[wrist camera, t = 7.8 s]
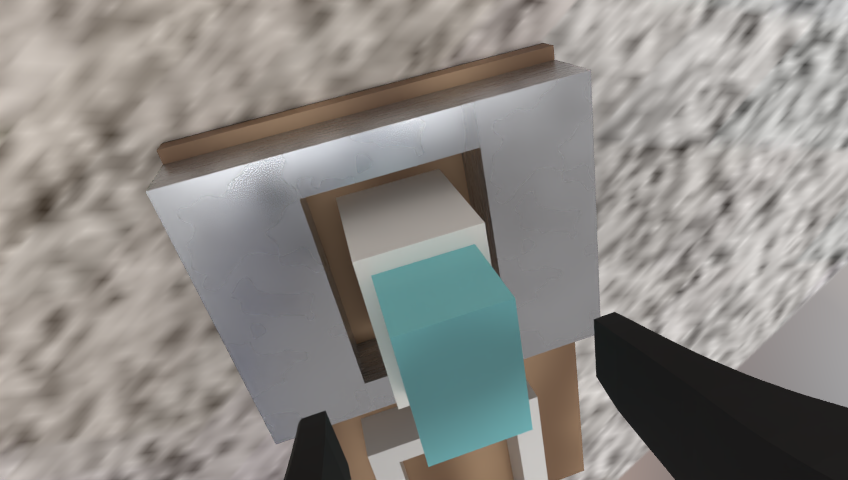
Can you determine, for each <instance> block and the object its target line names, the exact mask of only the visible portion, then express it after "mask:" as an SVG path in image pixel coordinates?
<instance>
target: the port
mask: <svg viewBox="0 0 848 480" xmlns="http://www.w3.org/2000/svg"><path fill="white" fill-rule="evenodd" d="M459 153H462V159H463V164H464V170H465V176H466V182H467V188H468V193H469V199H470V205H471V207H472V208H473V209H474V211H475V212H476V213H477V214H478V215H479V216H480V218H481V219H482V220H483V221H484V222H485V227H486V234H487V240H488V246H489V253H490V259H491V266H492V268H493V269H494V270H495V272H496V273H497V274H498V276H499V277H500V278H501V280H502V281H503V282H504V284H505V285H506V286H507V288H508V289H509V290H510V292H511V293H512V294H513V296H514V297H515V300H516V308H517V315H518V323H519V330H520V338H521V345H522V353H523V359H526V358H529V357H532V356H535V355H538V354H541V353H544V352H547V351H549V350H552V349H555V348H558V347H561V346H564V345H567V344H570V343H573V342H576V341H579V340H582V339H584V338H587V337H590V336H593V335H594V319H596V318H599V317H600V296H599V270H598V244H597V218H596V192H595V166H594V140H593V114H592V88H591V70H589V69H586V68H582V67H578V66H575V65H571V64H568V63H564V62H560V61H557V60H552V61H548V62H544V63H541V64H537V65H533V66H530V67H526V68H522V69H518V70H515V71H511V72H507V73H503V74H500V75H496V76H492V77H489V78H485V79H481V80H477V81H474V82H470V83H466V84H462V85H459V86H455V87H451V88H447V89H444V90H440V91H436V92H433V93H429V94H425V95H421V96H418V97H414V98H410V99H406V100H403V101H399V102H395V103H392V104H388V105H384V106H380V107H377V108H373V109H369V110H365V111H362V112H358V113H354V114H350V115H347V116H343V117H339V118H336V119H332V120H328V121H324V122H321V123H317V124H313V125H309V126H306V127H302V128H298V129H295V130H291V131H287V132H283V133H280V134H276V135H272V136H268V137H265V138H261V139H257V140H254V141H250V142H246V143H242V144H239V145H235V146H231V147H227V148H224V149H220V150H216V151H212V152H209V153H205V154H201V155H198V156H194V157H190V158H186V159H183V160H179V161H175V162H171V163H168V164H164V165H163V166H162V168H161V169H160V171H159V172H158V174H157V175H156V177H155V178H154V180H153V181H152V183H151V184H150V186H149V187H148V189H147V190H146V193H147V195H148V197H149V199H150V201H151V203H152V204H153V206H154V208H155V210H156V212H157V214H158V216H159V218H160V220H161V222H162V224H163V226H164V228H165V230H166V232H167V234H168V236H169V237H170V239H171V241H172V243H173V245H174V247H175V249H176V251H177V253H178V255H179V257H180V259H181V261H182V263H183V265H184V267H185V269H186V270H187V272H188V274H189V276H190V278H191V280H192V282H193V284H194V286H195V288H196V290H197V292H198V294H199V296H200V298H201V300H202V302H203V304H204V305H205V307H206V309H207V311H208V313H209V315H210V317H211V319H212V321H213V323H214V325H215V327H216V329H217V331H218V333H219V335H220V337H221V338H222V340H223V342H224V344H225V346H226V348H227V350H228V352H229V354H230V356H231V358H232V360H233V362H234V364H235V366H236V368H237V370H238V371H239V373H240V375H241V377H242V379H243V381H244V383H245V385H246V387H247V389H248V391H249V393H250V395H251V397H252V399H253V401H254V403H255V404H256V406H257V408H258V410H259V412H260V414H261V416H262V418H263V420H264V422H265V424H266V426H267V428H268V430H269V432H270V434H271V436H272V437H273V439H274V441H275V443H276V444H278V443H281V442H284V441H287V440H290V439H293V438H295V436H296V432H297V427H298V423H299V421H300V420H301V419H302V418H305V417H308V416H311V415H314V414H316V413H319V412H322V411H325V410H326V413H327V415H328V417H329V420H330V422H331V425H334V424H337V423H339V422H342V421H345V420H348V419H351V418H354V417H357V416H360V415H363V414H366V413H369V412H372V411H374V410H377V409H380V408H383V407H386V406H389V405H392V404H395V403H396V400H395V397H394V394H393V391H392V387H391V384H390V381H389V378H388V375H387V371H386V368H385V365H384V362H383V359H382V356H381V352H380V349H379V346H378V343H377V340H376V338H374V339H371V340H367V341H364V342H361V343H358V344H356V341H355V338H354V335H353V332H352V330H351V327H350V324H349V321H348V318H347V315H346V312H345V310H344V307H343V304H342V301H341V298H340V295H339V292H338V289H337V287H336V284H335V281H334V278H333V275H332V272H331V269H330V266H329V264H328V261H327V258H326V255H325V252H324V249H323V246H322V243H321V241H320V238H319V235H318V232H317V229H316V226H315V223H314V220H313V218H312V215H311V212H310V209H309V206H308V203H307V200H306V197H309V196H312V195H316V194H319V193H323V192H326V191H330V190H333V189H337V188H340V187H344V186H347V185H351V184H354V183H358V182H361V181H365V180H368V179H372V178H375V177H379V176H382V175H386V174H389V173H393V172H396V171H400V170H403V169H407V168H410V167H414V166H417V165H421V164H424V163H428V162H431V161H435V160H438V159H442V158H445V157H449V156H452V155H456V154H459Z"/></svg>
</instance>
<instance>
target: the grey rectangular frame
mask: <svg viewBox="0 0 848 480" xmlns="http://www.w3.org/2000/svg"><path fill="white" fill-rule="evenodd" d="M526 383H527V390H528V398H529V405H530V412H531V420H532V427H533V430H530V431H528V432H525V433H522V434H519V435H516V436H514V437H511V438H508V439H507V445H508V450H509V456H510V462H511V467H512V473H513V478H514V480H548V476H547V469H546V461H545V453H544V445H543V437H542V429H541V422H540V414H539V406H538V398H537V396H536V394H535V392H534V391H533V389H532V387H531V386H530V384H529V383H528V381H527V379H526ZM361 423H362V429H363V434H364V440H365V445H366V451H367V456H368V459H369V462H370V464H371V467H372V469H373V472H374V474H375V477H376V480H409V479H408V476H407V473H406V470H405V467H404V464H403V461H404V460H407V459H410V458H413V457H416V456H418V455H421V454H424V451H423V447H422V444H421V441H420V438H419V434H418V431H417V428H416V424H415V421H414V418H413V415H412V411H411V408H410V406H407V407H405V408H402V409H399V410H398V406H397V407H394V408H391V409H388V410H385V411H382V412H380V413H377V414H374V415H371V416H368V417H365V418H362V419H361Z"/></svg>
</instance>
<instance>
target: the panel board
mask: <svg viewBox="0 0 848 480" xmlns="http://www.w3.org/2000/svg"><path fill="white" fill-rule="evenodd" d="M552 60H554V47H553V45H549V44H544V43H542V44H539V45H535V46H531V47H527V48H523V49H520V50H516V51H512V52H508V53H504V54H501V55H497V56H493V57H489V58H485V59H482V60H478V61H474V62H470V63H466V64H463V65H459V66H455V67H451V68H447V69H444V70H440V71H436V72H432V73H428V74H425V75H421V76H417V77H413V78H409V79H406V80H402V81H398V82H394V83H390V84H387V85H383V86H379V87H375V88H371V89H368V90H364V91H360V92H356V93H352V94H349V95H345V96H341V97H337V98H333V99H330V100H326V101H322V102H318V103H314V104H311V105H307V106H303V107H299V108H295V109H292V110H288V111H284V112H280V113H276V114H273V115H269V116H265V117H261V118H257V119H254V120H250V121H246V122H242V123H238V124H235V125H231V126H227V127H223V128H219V129H216V130H212V131H208V132H204V133H200V134H197V135H193V136H189V137H185V138H181V139H178V140H174V141H170V142H166V143H162V144H161V145H160V146H159V148H158V149H157V152H158V155H159V157H160V159H161V161H162V163H163V165H164V164H168V163H171V162H175V161H179V160H183V159H186V158H190V157H194V156H198V155H201V154H205V153H209V152H212V151H216V150H220V149H224V148H227V147H231V146H235V145H239V144H242V143H246V142H250V141H254V140H257V139H261V138H265V137H268V136H272V135H276V134H280V133H283V132H287V131H291V130H295V129H298V128H302V127H306V126H309V125H313V124H317V123H321V122H324V121H328V120H332V119H336V118H339V117H343V116H347V115H350V114H354V113H358V112H362V111H365V110H369V109H373V108H377V107H380V106H384V105H388V104H392V103H395V102H399V101H403V100H406V99H410V98H414V97H418V96H421V95H425V94H429V93H433V92H436V91H440V90H444V89H447V88H451V87H455V86H459V85H462V84H466V83H470V82H474V81H477V80H481V79H485V78H489V77H492V76H496V75H500V74H503V73H507V72H511V71H515V70H518V69H522V68H526V67H530V66H533V65H537V64H541V63H544V62H548V61H552ZM436 169H439V170H440V171H441V172H442V173H443V174H444V175H445V177H446V178H447V179H448V180H449V181H450V182H451V184H452V185H453V186H454V187H455V188H456V189H457V191H458V192H459V193H460V194H461V195H462V196H463V198H464V199H465V200H466V201H467V202H468V204H469V205H470V199H469V193H468V188H467V182H466V176H465V170H464V164H463V159H462V153H459V154H456V155H452V156H449V157H445V158H442V159H438V160H435V161H431V162H428V163H424V164H421V165H417V166H414V167H410V168H407V169H403V170H400V171H396V172H393V173H389V174H386V175H382V176H379V177H375V178H372V179H368V180H365V181H361V182H358V183H354V184H351V185H347V186H344V187H340V188H337V189H333V190H330V191H326V192H323V193H319V194H316V195H312V196H309V197H306V200H307V203H308V206H309V209H310V212H311V215H312V218H313V220H314V223H315V226H316V229H317V232H318V235H319V238H320V241H321V243H322V246H323V249H324V252H325V255H326V258H327V261H328V264H329V266H330V269H331V272H332V275H333V278H334V281H335V284H336V287H337V289H338V292H339V295H340V298H341V301H342V304H343V307H344V310H345V312H346V315H347V318H348V321H349V324H350V327H351V330H352V332H353V335H354V338H355V341H356V344H358V343H361V342H364V341H367V340H371V339H374V338H376V337H375V333H374V330H373V327H372V324H371V321H370V317H369V314H368V311H367V308H366V305H365V302H364V298H363V295H362V292H361V289H360V286H359V282H358V279H357V276H356V273H355V270H354V267H353V263H352V260H351V256H350V252H349V248H348V244H347V240H346V236H345V232H344V228H343V224H342V220H341V216H340V213H339V209H338V205H337V201H336V198H337V197H341V196H344V195H348V194H351V193H355V192H358V191H362V190H366V189H369V188H373V187H376V186H380V185H383V184H387V183H390V182H394V181H397V180H401V179H404V178H408V177H411V176H415V175H419V174H422V173H426V172H429V171H433V170H436ZM470 206H471V205H470ZM523 360H524V368H525V375H526V379H527V381H528V383H529V384H530V386H531V387H532V389H533V391H534V392H535V394H536V396H537V398H538V406H539V414H540V422H541V429H542V437H543V445H544V453H545V461H546V469H547V476H548V480H560V479H563V478H565V477H568V476H571V475H573V474H576V473H579V472H581V471H584V464H583V450H582V436H581V422H580V409H579V395H578V381H577V367H576V353H575V342H573V343H570V344H567V345H564V346H561V347H558V348H555V349H552V350H549V351H547V352H544V353H541V354H538V355H535V356H532V357H529V358H526V359H523ZM394 407H397V403H395V404H392V405H389V406H386V407H383V408H380V409H377V410H374V411H372V412H369V413H366V414H363V415H360V416H357V417H354V418H351V419H348V420H345V421H342V422H339V423H337V424H334V425H332V427H333V429H334V432H335V434H336V436H337V439H338V441H339V443H340V446H341V448H342V451H343V453H344V455H345V458H346V460H347V462H348V465H349V470H350V475H351V480H376V477H375V474H374V472H373V469H372V467H371V464H370V462H369V459H368V456H367V451H366V445H365V440H364V434H363V429H362V423H361V419H362V418H365V417H368V416H371V415H374V414H377V413H380V412H382V411H385V410H388V409H391V408H394ZM403 464H404V467H405V470H406V473H407V476H408V479H409V480H514V478H513V473H512V467H511V462H510V456H509V450H508V445H507V439H505V440H502V441H500V442H497V443H494V444H491V445H488V446H486V447H483V448H480V449H477V450H475V451H472V452H469V453H466V454H463V455H461V456H458V457H455V458H452V459H449V460H447V461H444V462H441V463H438V464H435V465H433V466H430V467H428V464H427V460H426V457H425V454H421V455H418V456H416V457H413V458H410V459H407V460H404V461H403Z"/></svg>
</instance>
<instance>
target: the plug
mask: <svg viewBox="0 0 848 480" xmlns="http://www.w3.org/2000/svg"><path fill="white" fill-rule="evenodd" d="M336 201H337V205H338V209H339V213H340V216H341V220H342V224H343V228H344V232H345V236H346V240H347V244H348V248H349V252H350V256H351V260H352V263H353V267H354V270H355V273H356V276H357V279H358V282H359V286H360V289H361V292H362V295H363V298H364V302H365V305H366V308H367V311H368V314H369V317H370V321H371V324H372V327H373V330H374V333H375V337H376V340H377V343H378V346H379V349H380V352H381V356H382V359H383V362H384V365H385V368H386V371H387V375H388V378H389V381H390V384H391V387H392V391H393V394H394V397H395V400H396V403H397V406H398V410H399V409H402V408H405V407H407V406H410V408H411V411H412V415H413V418H414V421H415V424H416V428H417V431H418V434H419V438H420V441H421V444H422V447H423V451H424V454H425V457H426V460H427V464H428V467H430V466H433V465H435V464H438V463H441V462H444V461H447V460H449V459H452V458H455V457H458V456H461V455H463V454H466V453H469V452H472V451H475V450H477V449H480V448H483V447H486V446H488V445H491V444H494V443H497V442H500V441H502V440H505V439H508V438H511V437H514V436H516V435H519V434H522V433H525V432H528V431H530V430H533V427H532V420H531V412H530V405H529V398H528V390H527V383H526V375H525V368H524V360H523V353H522V345H521V338H520V330H519V323H518V315H517V308H516V300H515V297H514V296H513V294H512V293H511V292H510V290H509V289H508V288H507V286H506V285H505V284H504V282H503V281H502V280H501V278H500V277H499V276H498V274H497V273H496V272H495V270H494V269H493V268H492V266H491V259H490V253H489V246H488V240H487V234H486V227H485V222H484V221H483V220H482V219H481V218H480V216H479V215H478V214H477V213H476V212H475V211H474V209H473V208H472V207H471V206H470V205H469V204H468V202H467V201H466V200H465V199H464V198H463V196H462V195H461V194H460V193H459V192H458V191H457V189H456V188H455V187H454V186H453V185H452V184H451V182H450V181H449V180H448V179H447V178H446V177H445V175H444V174H443V173H442V172H441V171H440V170H439V169H436V170H433V171H429V172H426V173H422V174H419V175H415V176H411V177H408V178H404V179H401V180H397V181H394V182H390V183H387V184H383V185H380V186H376V187H373V188H369V189H366V190H362V191H358V192H355V193H351V194H348V195H344V196H341V197H337V198H336Z"/></svg>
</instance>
